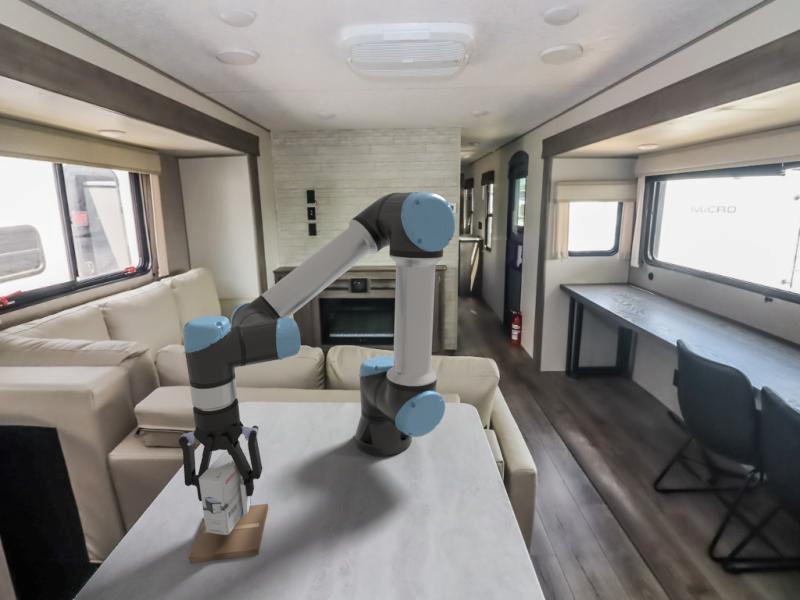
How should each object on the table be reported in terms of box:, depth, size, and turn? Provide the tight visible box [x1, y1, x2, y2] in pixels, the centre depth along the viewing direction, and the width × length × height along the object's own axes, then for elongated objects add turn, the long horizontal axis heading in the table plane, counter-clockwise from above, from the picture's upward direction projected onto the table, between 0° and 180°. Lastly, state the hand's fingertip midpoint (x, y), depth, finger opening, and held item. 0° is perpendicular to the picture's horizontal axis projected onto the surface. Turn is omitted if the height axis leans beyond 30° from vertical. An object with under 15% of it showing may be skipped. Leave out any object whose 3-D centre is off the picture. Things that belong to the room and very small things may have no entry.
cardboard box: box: [188, 503, 269, 564], centre depth 83 cm, size 12×12×1 cm
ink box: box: [199, 451, 252, 535], centre depth 81 cm, size 9×5×12 cm, turn 170°
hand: (228, 510), depth 82 cm, fingers closed on ink box, 6 cm apart
